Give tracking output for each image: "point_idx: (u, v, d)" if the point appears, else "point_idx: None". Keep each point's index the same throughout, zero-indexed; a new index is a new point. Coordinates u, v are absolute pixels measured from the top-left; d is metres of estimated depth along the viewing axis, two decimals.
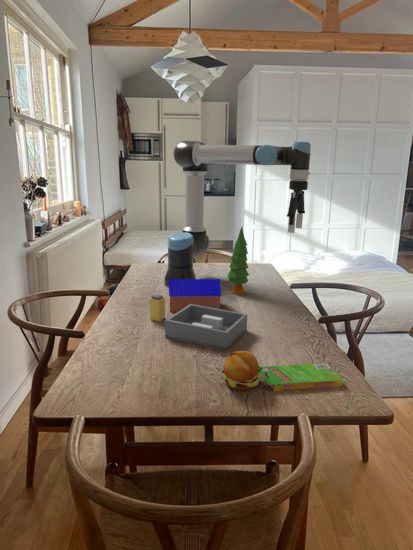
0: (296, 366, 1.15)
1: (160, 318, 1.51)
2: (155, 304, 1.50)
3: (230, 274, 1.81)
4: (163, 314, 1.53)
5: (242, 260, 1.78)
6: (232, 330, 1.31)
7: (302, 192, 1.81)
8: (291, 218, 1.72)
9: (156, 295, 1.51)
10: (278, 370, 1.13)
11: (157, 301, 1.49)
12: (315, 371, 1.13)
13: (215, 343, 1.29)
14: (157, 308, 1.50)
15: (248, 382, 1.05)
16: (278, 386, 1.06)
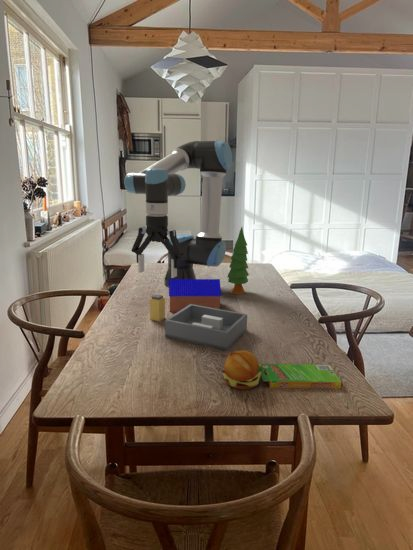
0: (297, 366, 1.16)
1: (160, 318, 1.51)
2: (155, 304, 1.50)
3: (230, 274, 1.81)
4: (163, 314, 1.53)
5: (242, 260, 1.79)
6: (232, 330, 1.31)
7: (170, 232, 1.42)
8: None
9: (156, 295, 1.51)
10: (278, 368, 1.14)
11: (157, 301, 1.49)
12: (316, 372, 1.13)
13: (215, 343, 1.29)
14: (157, 308, 1.50)
15: (248, 381, 1.05)
16: (274, 383, 1.08)
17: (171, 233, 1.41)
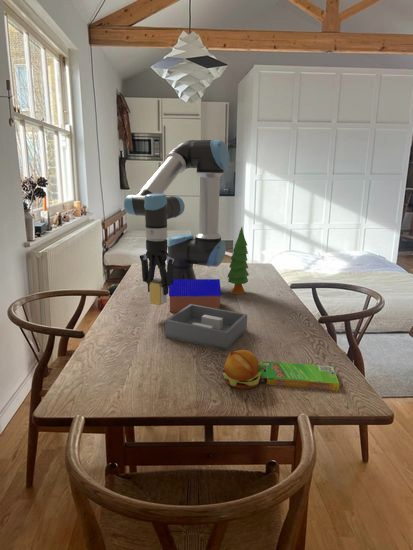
0: (298, 365, 1.16)
1: None
2: (155, 288, 1.48)
3: (230, 274, 1.81)
4: None
5: (242, 260, 1.78)
6: (232, 330, 1.31)
7: None
8: None
9: (156, 279, 1.50)
10: (279, 366, 1.15)
11: (158, 285, 1.48)
12: (316, 372, 1.12)
13: (215, 343, 1.29)
14: (157, 292, 1.49)
15: (248, 381, 1.06)
16: (271, 380, 1.09)
17: (170, 262, 1.44)
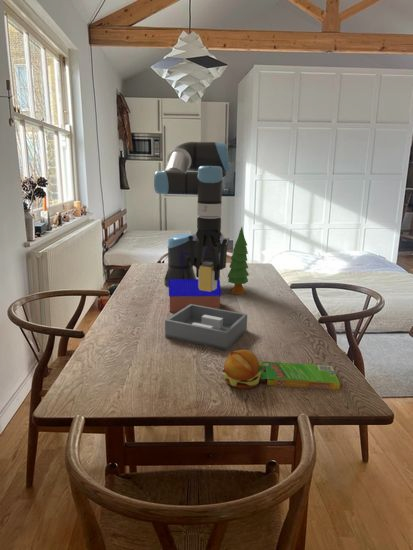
0: (298, 365, 1.16)
1: None
2: (205, 272, 1.33)
3: (230, 274, 1.81)
4: None
5: (242, 260, 1.78)
6: (232, 330, 1.31)
7: (223, 239, 1.29)
8: None
9: (207, 262, 1.34)
10: (278, 366, 1.15)
11: (209, 269, 1.32)
12: (315, 372, 1.13)
13: (215, 343, 1.29)
14: (208, 277, 1.33)
15: (249, 381, 1.06)
16: (271, 381, 1.09)
17: (224, 242, 1.29)
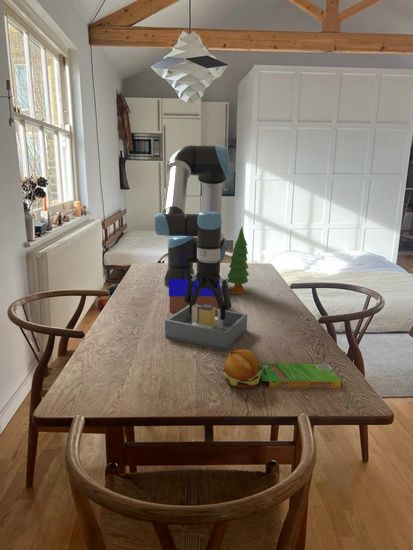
0: (297, 365, 1.16)
1: None
2: (205, 316, 1.37)
3: (230, 274, 1.81)
4: (213, 326, 1.40)
5: (242, 260, 1.78)
6: (232, 330, 1.31)
7: (223, 281, 1.33)
8: None
9: (206, 305, 1.38)
10: (278, 367, 1.15)
11: (208, 312, 1.36)
12: (315, 371, 1.13)
13: (215, 343, 1.29)
14: (207, 320, 1.37)
15: (249, 380, 1.06)
16: (274, 383, 1.08)
17: (224, 283, 1.32)
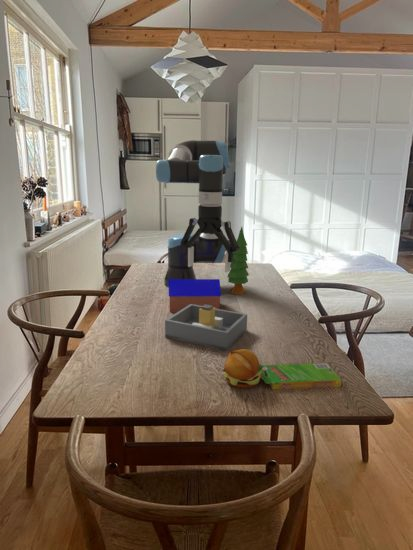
0: (295, 366, 1.16)
1: None
2: (205, 316, 1.37)
3: (230, 274, 1.81)
4: (213, 326, 1.40)
5: (242, 260, 1.78)
6: (232, 330, 1.31)
7: None
8: None
9: (206, 305, 1.38)
10: (278, 369, 1.14)
11: (208, 312, 1.36)
12: (315, 371, 1.13)
13: (215, 343, 1.29)
14: (207, 320, 1.37)
15: (249, 380, 1.06)
16: (277, 385, 1.07)
17: (226, 224, 1.31)
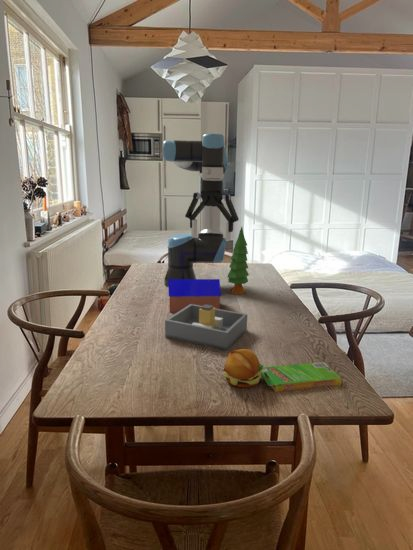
0: (294, 366, 1.16)
1: None
2: (205, 316, 1.37)
3: (230, 274, 1.81)
4: (213, 326, 1.40)
5: (242, 260, 1.79)
6: (232, 330, 1.31)
7: None
8: None
9: (206, 305, 1.38)
10: (278, 370, 1.13)
11: (208, 312, 1.36)
12: (314, 370, 1.13)
13: (215, 343, 1.29)
14: (207, 320, 1.37)
15: (249, 380, 1.06)
16: (279, 386, 1.06)
17: (227, 197, 1.45)
